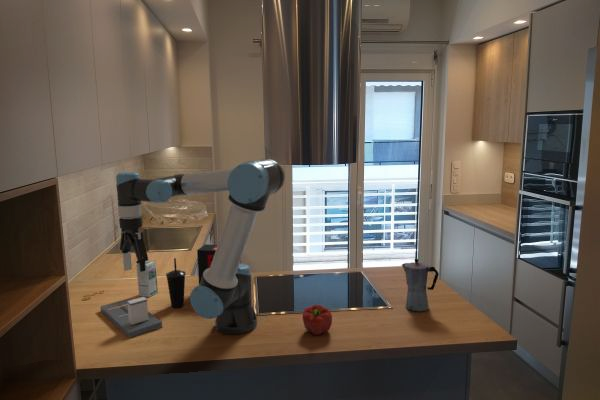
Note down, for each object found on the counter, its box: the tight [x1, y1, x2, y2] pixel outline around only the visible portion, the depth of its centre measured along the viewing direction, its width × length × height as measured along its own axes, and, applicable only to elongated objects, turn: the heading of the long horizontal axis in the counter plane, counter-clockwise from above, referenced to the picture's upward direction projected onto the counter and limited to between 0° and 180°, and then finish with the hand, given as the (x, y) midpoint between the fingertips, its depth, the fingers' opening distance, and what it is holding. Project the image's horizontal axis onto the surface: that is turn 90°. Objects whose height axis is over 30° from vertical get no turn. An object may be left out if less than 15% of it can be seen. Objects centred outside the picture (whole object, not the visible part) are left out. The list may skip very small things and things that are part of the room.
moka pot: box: [401, 258, 439, 312], centre depth 172 cm, size 10×15×20 cm, turn 55°
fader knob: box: [127, 296, 149, 325], centre depth 159 cm, size 3×6×8 cm, turn 131°
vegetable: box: [302, 304, 333, 336], centre depth 153 cm, size 11×10×10 cm
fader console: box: [100, 297, 163, 339], centre depth 166 cm, size 30×12×2 cm, turn 41°
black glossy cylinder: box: [165, 257, 186, 309], centre depth 176 cm, size 8×8×20 cm
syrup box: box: [135, 259, 159, 298], centre depth 189 cm, size 6×6×14 cm
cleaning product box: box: [196, 243, 242, 285], centre depth 191 cm, size 16×9×20 cm, turn 80°
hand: (134, 274), depth 157 cm, fingers open, 13 cm apart
